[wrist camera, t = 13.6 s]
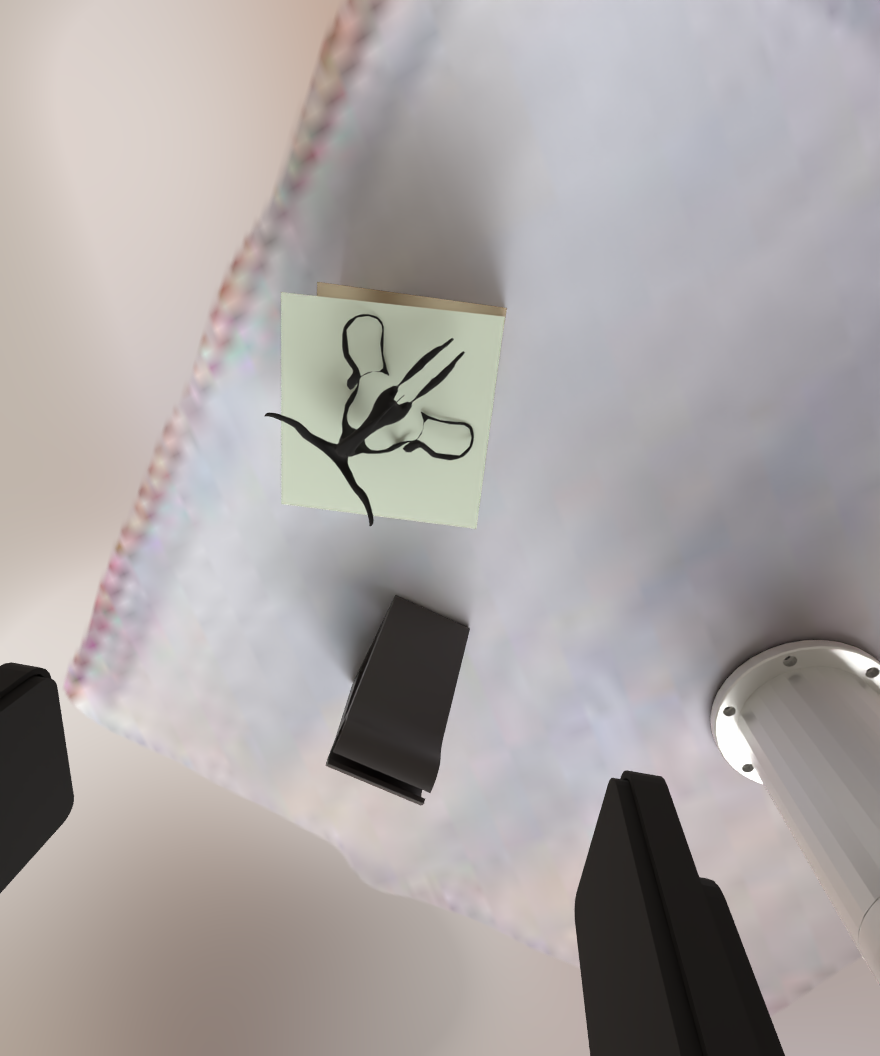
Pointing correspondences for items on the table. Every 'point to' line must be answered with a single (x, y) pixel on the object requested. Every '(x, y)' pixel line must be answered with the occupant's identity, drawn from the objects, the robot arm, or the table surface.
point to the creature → (377, 417)
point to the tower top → (409, 333)
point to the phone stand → (401, 702)
